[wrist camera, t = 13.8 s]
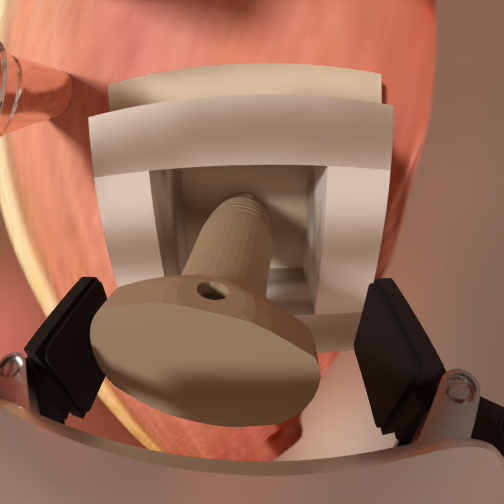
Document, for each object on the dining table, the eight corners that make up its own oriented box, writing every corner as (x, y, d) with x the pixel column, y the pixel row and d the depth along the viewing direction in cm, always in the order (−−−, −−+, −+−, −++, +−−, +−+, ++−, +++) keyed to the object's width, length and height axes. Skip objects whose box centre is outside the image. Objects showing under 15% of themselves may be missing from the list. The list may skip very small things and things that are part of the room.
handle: (280, 251, 22) (288, 435, 8) (198, 233, 21) (104, 393, 8) (296, 190, 20) (348, 336, 6) (207, 172, 19) (78, 276, 6)
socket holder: (115, 85, 17) (61, 77, 11) (375, 76, 17) (422, 61, 10) (150, 317, 27) (126, 369, 20) (350, 318, 26) (370, 372, 20)
